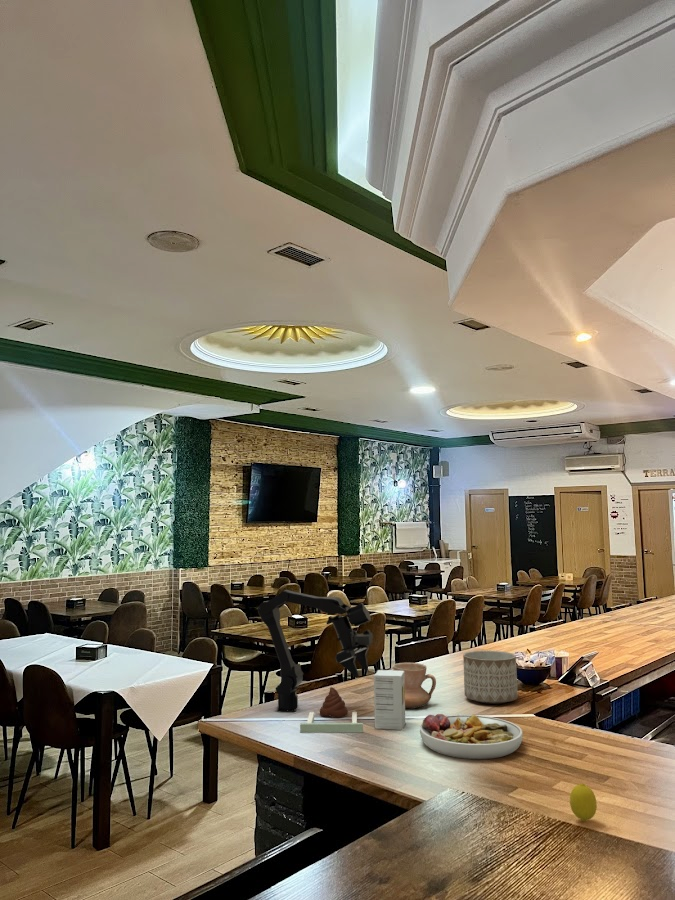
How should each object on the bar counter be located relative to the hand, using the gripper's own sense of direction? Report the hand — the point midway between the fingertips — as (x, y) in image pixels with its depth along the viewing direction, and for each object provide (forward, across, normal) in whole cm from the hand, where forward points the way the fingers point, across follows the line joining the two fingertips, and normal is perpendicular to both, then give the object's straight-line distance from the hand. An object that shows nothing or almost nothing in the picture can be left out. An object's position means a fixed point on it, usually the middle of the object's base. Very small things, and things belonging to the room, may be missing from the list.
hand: (362, 674), depth 237 cm
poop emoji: (+9, -5, +14) cm, 17 cm away
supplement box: (+17, -10, -7) cm, 21 cm away
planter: (+29, +34, -29) cm, 53 cm away
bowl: (+28, -20, -33) cm, 48 cm away
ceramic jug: (+18, +17, -6) cm, 26 cm away
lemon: (+39, -64, -66) cm, 100 cm away
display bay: (+10, -16, +10) cm, 21 cm away
